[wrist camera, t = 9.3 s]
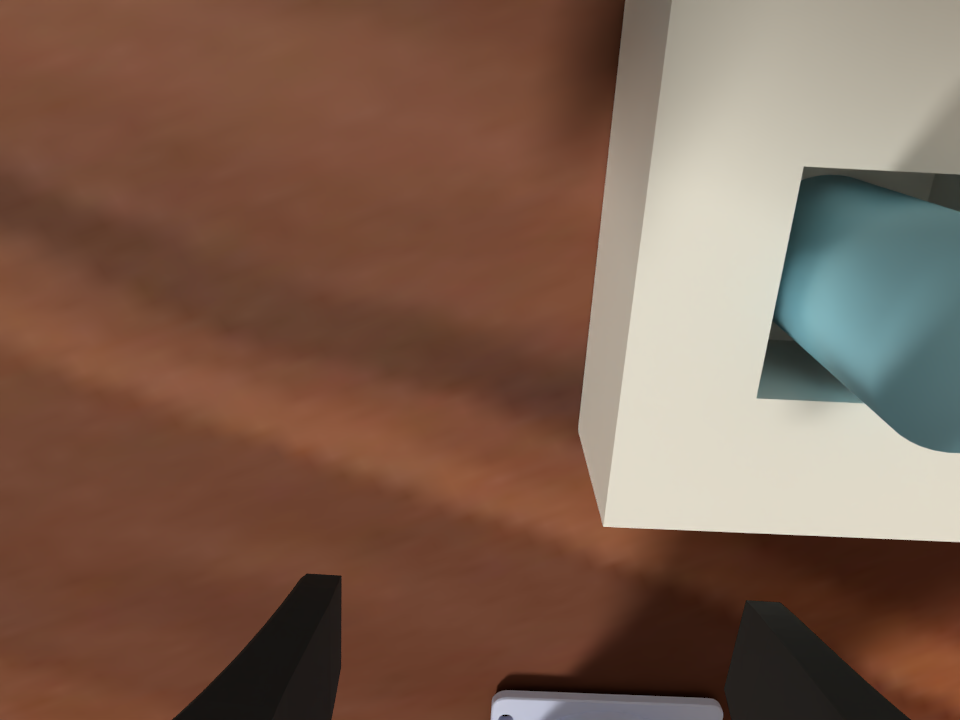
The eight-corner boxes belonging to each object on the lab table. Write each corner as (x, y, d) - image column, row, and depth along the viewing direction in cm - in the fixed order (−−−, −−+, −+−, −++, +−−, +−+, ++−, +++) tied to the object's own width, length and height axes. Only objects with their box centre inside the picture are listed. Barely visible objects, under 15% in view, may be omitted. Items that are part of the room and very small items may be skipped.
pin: (882, 324, 20) (1073, 450, 14) (733, 328, 20) (852, 456, 14) (909, 172, 19) (1139, 231, 12) (748, 176, 19) (890, 239, 12)
